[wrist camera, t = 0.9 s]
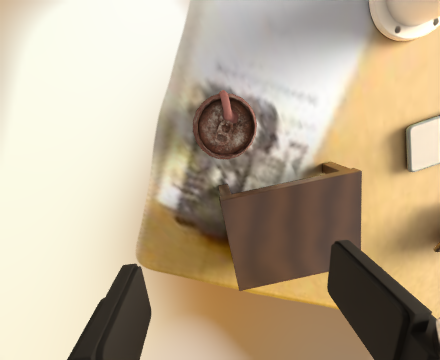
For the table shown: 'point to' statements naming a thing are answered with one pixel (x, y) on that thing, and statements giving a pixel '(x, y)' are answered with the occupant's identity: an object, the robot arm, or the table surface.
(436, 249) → the ceramic sculpture
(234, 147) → the can
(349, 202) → the side table
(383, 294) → the robot arm
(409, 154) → the smartphone
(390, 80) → the table surface
